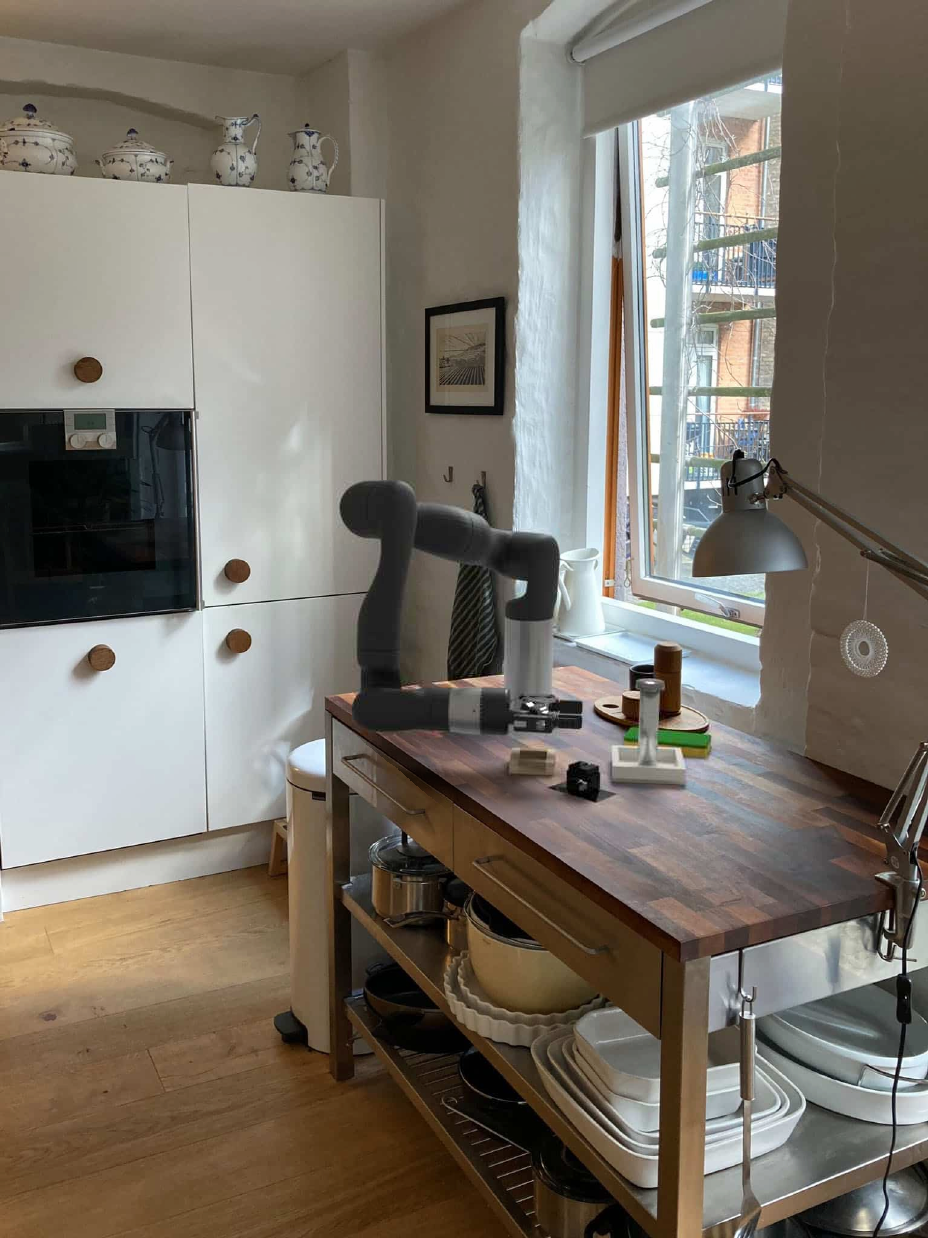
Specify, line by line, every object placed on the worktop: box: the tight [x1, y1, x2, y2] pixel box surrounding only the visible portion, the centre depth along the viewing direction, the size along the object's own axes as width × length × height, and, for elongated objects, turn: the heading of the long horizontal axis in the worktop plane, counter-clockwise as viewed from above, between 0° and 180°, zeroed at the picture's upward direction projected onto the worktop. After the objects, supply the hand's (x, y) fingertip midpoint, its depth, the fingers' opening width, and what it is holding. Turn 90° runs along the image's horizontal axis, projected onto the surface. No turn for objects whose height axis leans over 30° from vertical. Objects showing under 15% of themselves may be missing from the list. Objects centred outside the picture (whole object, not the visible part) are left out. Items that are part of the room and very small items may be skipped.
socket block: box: [508, 747, 557, 776], centre depth 179 cm, size 7×7×2 cm
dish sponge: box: [622, 726, 712, 758], centre depth 190 cm, size 7×14×2 cm, turn 71°
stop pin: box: [635, 678, 666, 766], centre depth 176 cm, size 4×4×14 cm
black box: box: [546, 760, 618, 804], centre depth 168 cm, size 12×7×5 cm, turn 46°
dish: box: [610, 744, 687, 786], centre depth 177 cm, size 11×11×2 cm
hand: (582, 714), depth 177 cm, fingers open, 8 cm apart
